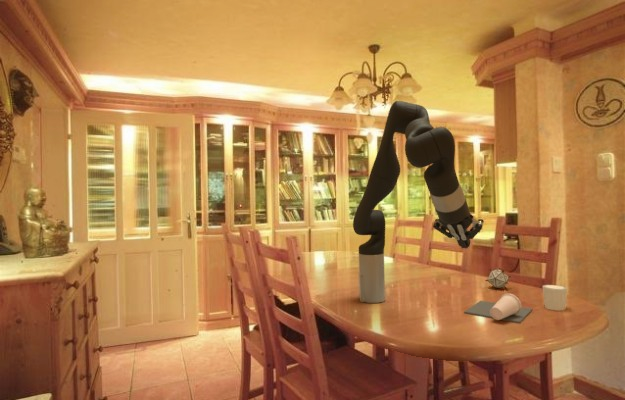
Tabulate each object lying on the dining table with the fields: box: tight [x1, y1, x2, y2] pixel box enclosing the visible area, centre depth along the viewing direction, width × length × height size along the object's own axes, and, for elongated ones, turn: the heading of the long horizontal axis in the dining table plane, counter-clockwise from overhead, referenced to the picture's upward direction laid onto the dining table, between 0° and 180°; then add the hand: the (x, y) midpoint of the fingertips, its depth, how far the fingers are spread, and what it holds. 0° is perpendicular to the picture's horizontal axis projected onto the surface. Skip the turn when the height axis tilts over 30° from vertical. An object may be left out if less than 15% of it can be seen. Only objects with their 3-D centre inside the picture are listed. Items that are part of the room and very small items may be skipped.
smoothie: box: [490, 293, 523, 321], centre depth 112 cm, size 6×6×14 cm
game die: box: [485, 267, 512, 291], centre depth 148 cm, size 9×8×10 cm
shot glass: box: [542, 284, 568, 312], centre depth 121 cm, size 7×7×7 cm
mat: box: [463, 300, 533, 324], centre depth 118 cm, size 16×16×1 cm
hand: (465, 245), depth 100 cm, fingers closed
